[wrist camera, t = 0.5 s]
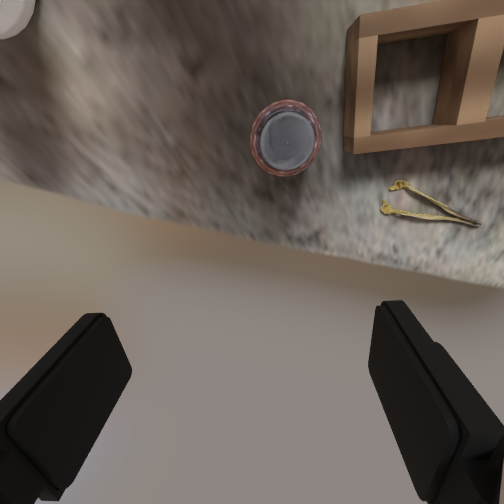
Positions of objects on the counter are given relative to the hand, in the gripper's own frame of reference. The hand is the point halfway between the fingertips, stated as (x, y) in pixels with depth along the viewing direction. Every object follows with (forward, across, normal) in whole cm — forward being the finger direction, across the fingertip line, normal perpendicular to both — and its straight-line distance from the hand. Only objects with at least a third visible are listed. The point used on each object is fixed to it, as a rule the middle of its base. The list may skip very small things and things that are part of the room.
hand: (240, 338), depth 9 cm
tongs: (+26, -21, +4) cm, 33 cm away
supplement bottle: (+25, -3, -5) cm, 26 cm away
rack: (+25, -20, -9) cm, 33 cm away
